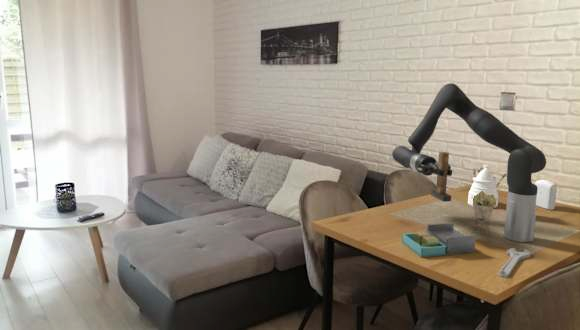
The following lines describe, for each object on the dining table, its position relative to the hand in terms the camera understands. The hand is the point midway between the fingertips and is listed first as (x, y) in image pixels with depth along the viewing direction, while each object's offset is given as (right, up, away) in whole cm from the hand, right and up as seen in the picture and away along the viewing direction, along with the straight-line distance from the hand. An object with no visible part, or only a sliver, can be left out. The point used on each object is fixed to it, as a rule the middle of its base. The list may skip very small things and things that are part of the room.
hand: (447, 173), depth 159 cm
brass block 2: (-7, -24, -10) cm, 26 cm away
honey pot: (+33, -15, +48) cm, 60 cm away
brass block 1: (-8, -23, -5) cm, 25 cm away
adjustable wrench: (+13, -29, -19) cm, 37 cm away
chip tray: (-11, -26, -7) cm, 29 cm away
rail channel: (-1, -25, -5) cm, 26 cm away
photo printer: (+59, -16, +44) cm, 76 cm away
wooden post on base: (-1, -9, +5) cm, 10 cm away
